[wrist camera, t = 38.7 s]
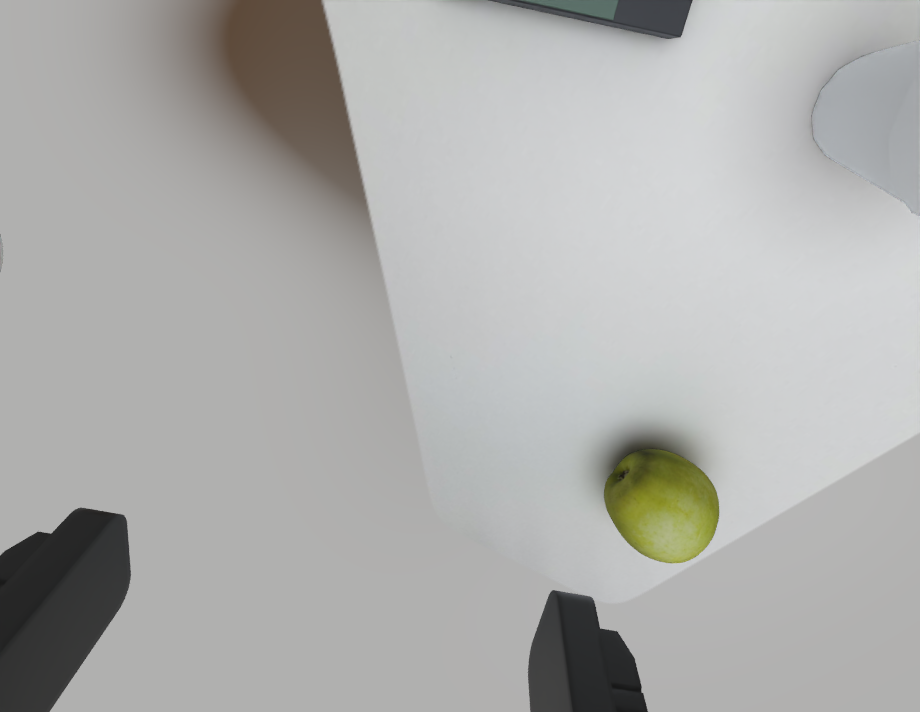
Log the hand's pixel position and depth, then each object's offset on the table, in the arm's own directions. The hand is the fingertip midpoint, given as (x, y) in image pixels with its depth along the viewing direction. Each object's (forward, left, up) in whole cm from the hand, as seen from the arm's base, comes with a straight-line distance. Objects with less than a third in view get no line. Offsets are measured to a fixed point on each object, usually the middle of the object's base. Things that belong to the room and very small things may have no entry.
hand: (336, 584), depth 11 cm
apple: (+20, -18, -33) cm, 43 cm away
